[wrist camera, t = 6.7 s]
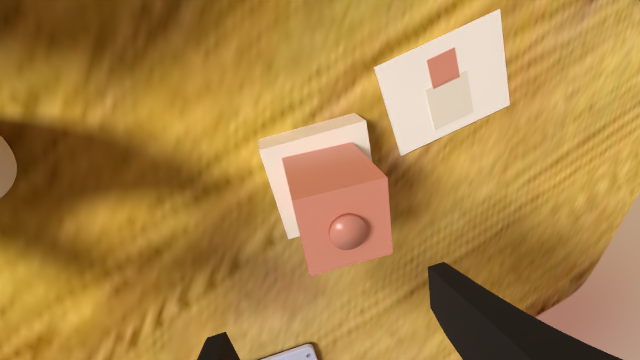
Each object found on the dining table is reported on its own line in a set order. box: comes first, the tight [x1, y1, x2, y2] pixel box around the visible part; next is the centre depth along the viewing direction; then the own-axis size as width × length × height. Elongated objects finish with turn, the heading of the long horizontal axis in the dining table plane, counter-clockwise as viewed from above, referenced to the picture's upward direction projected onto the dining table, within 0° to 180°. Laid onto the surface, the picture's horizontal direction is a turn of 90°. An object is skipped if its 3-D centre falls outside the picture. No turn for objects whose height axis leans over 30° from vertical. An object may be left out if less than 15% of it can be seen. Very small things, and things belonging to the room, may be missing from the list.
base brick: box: [258, 113, 372, 239], centre depth 19 cm, size 6×6×2 cm
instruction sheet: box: [374, 9, 510, 156], centre depth 19 cm, size 6×8×1 cm
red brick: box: [282, 142, 393, 276], centre depth 15 cm, size 4×4×5 cm
